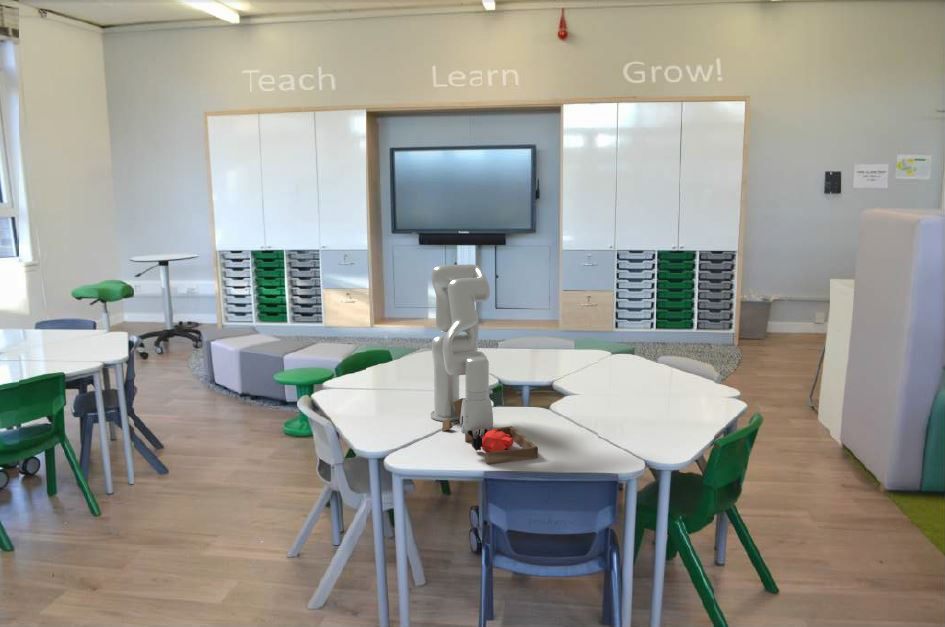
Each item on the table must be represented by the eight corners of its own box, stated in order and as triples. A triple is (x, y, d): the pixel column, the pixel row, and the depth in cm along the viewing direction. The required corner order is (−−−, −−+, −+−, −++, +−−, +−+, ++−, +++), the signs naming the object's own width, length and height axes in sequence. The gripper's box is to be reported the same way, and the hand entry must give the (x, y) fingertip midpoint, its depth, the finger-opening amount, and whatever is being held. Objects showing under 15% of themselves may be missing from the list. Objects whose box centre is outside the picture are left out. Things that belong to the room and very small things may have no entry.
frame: (465, 441, 239) (465, 431, 238) (511, 435, 244) (511, 426, 244) (487, 464, 218) (487, 453, 218) (537, 457, 224) (537, 447, 223)
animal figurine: (485, 460, 223) (485, 445, 222) (475, 443, 237) (474, 429, 236) (520, 457, 225) (520, 442, 224) (507, 440, 240) (507, 426, 239)
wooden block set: (466, 423, 265) (457, 398, 266) (485, 417, 261) (476, 391, 262) (443, 436, 249) (434, 409, 250) (463, 430, 245) (453, 402, 246)
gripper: (494, 389, 231) (494, 442, 234) (451, 393, 227) (451, 447, 230) (502, 395, 224) (502, 450, 227) (458, 400, 220) (458, 455, 223)
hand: (477, 448), depth 228 cm, fingers closed
